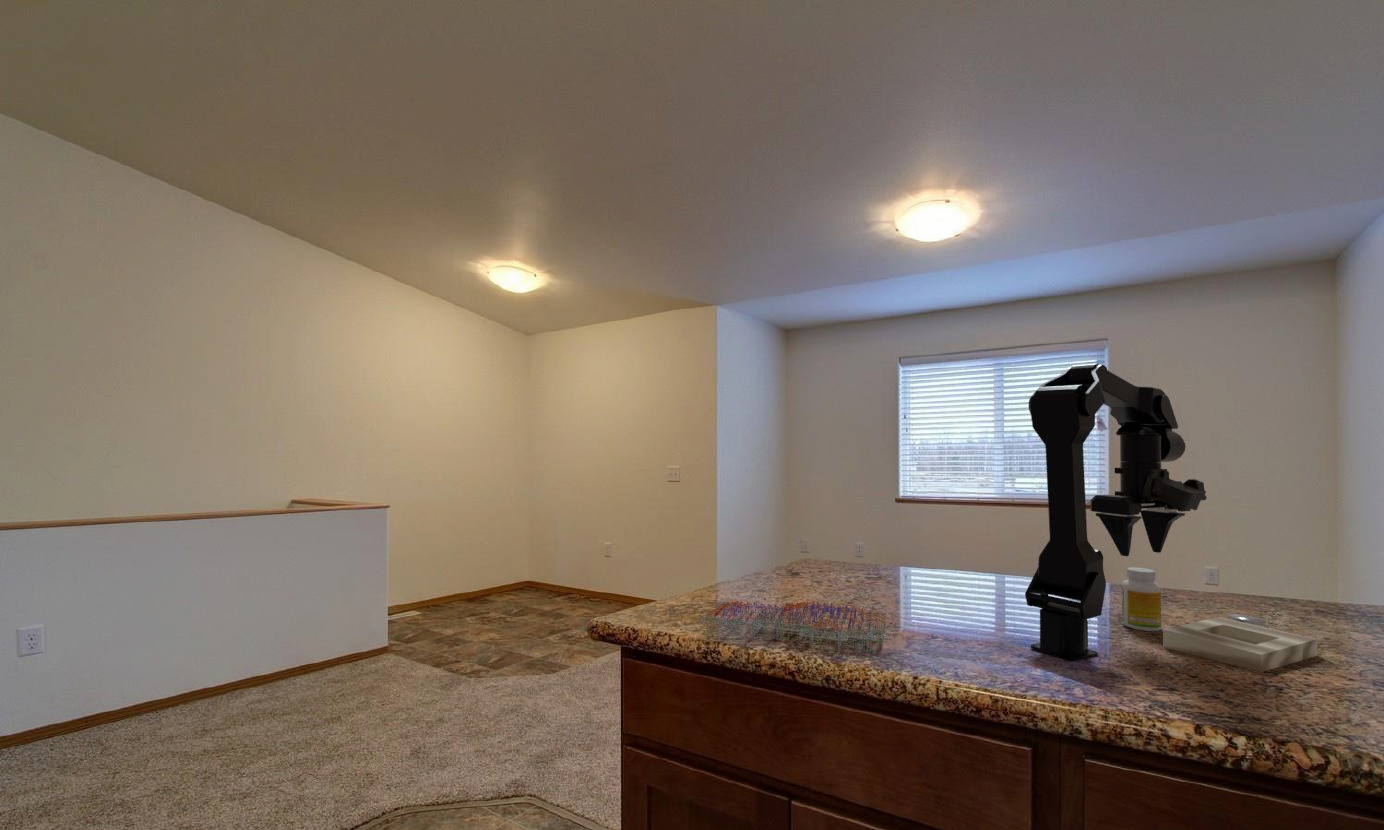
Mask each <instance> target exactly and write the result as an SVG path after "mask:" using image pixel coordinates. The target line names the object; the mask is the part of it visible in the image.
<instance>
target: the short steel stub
mask: <svg viewBox="0 0 1384 830" xmlns="http://www.w3.org/2000/svg"><path fill="white" fill-rule="evenodd" d="M1228 616H1229V617H1228V619H1231V620H1235V621H1240V622H1244V623H1248V624H1253V625H1257V626H1262V627H1266V628H1267V621H1266V619H1264V618H1261V617H1258V616H1254V615H1247V614H1238V613H1235V614H1233V613H1232V614H1229V615H1228Z"/></svg>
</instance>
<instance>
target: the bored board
mask: <svg viewBox="0 0 1384 830" xmlns="http://www.w3.org/2000/svg"><path fill="white" fill-rule="evenodd" d="M1162 647H1163V649H1169V650H1172V651H1177V652H1181V653H1185V654H1188V655H1192V656H1196V657H1200V658H1205V659H1209V660H1212V661H1215V662H1220V663H1224V664H1229V665H1232V666H1236V667H1240V668H1244V669H1249V670H1253V671H1257V672H1260V673H1263V672H1266V671H1267V672H1268V671H1271V670H1273V669H1277V668H1280V667H1284V666H1287V665H1291V664H1294V663H1298V662H1302V661H1305V660H1307V659H1312V658H1314V657H1318V638H1314V637H1310V636H1305V635H1301V634H1296V633H1292V632H1287V631H1283V630H1280V629H1279V630H1278V629H1274V628H1270V627H1267V626H1266V627H1262V626H1257V625H1253V624H1248V623H1244V622H1240V621H1235V620H1231V619H1229V618H1226V617H1221V616H1218V617H1213V618H1208V619H1204V620H1199V621H1195V622H1191V623H1190V622H1189V623H1186V624H1181V625H1177V626H1171V627H1168V628H1162ZM1311 657H1312V658H1311Z"/></svg>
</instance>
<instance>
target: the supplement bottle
mask: <svg viewBox="0 0 1384 830" xmlns="http://www.w3.org/2000/svg"><path fill="white" fill-rule="evenodd" d="M1126 577H1128V579H1125V580H1123V582H1122V583H1121V597H1122V598H1121V607H1122V608H1121V618H1122V619H1121V620H1122V624H1123V625H1124V626H1125V627H1126V628H1131V629H1134V630H1137V631H1143V632H1158V631H1159V632H1160V630H1161V629H1162V600H1161V598H1162V597H1161V596H1162V590H1161V587H1160V585H1159V584H1158V583H1156V582H1155V580H1156V571H1155V570H1153V569H1149V568H1145V567H1136V566H1134V567H1131V566H1130V567H1127V568H1126Z"/></svg>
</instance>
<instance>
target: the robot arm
mask: <svg viewBox="0 0 1384 830" xmlns="http://www.w3.org/2000/svg"><path fill="white" fill-rule="evenodd" d="M1103 405H1104V406H1107V407H1109V408H1110V411H1109V412H1110V413H1109V415H1110V416H1111V417H1113V418H1114V419H1115V420H1116V422H1117V424H1118V426H1120V427H1119V428H1118V429H1117V431H1116V432H1115V433H1116V436H1119V443H1120V444H1119V445H1120V446H1119V451H1120V453H1119V457H1120V458H1119V459H1120V462H1119V463H1120V467H1114V474H1119V475H1120V479H1119V480H1120V482H1119V483H1120V485H1119V486H1120V490H1116V491H1114V494H1096V495H1094V496H1093V497H1092V498H1091V499H1090V500H1089V501H1090V503H1089V504H1090V512H1094V513H1095V516H1096V517H1098V518H1099V520H1100V521H1101V522H1102V524H1103V526H1104V527H1105V529H1106V530H1107V532H1108V534H1109V536H1110V537H1111V540H1112V541H1113V543H1114V545H1115V547H1116V548H1117V550H1118V553H1119V555H1120V556H1122V557H1129V556H1130V552H1131V545H1132V539H1133V538H1132V537H1133V527H1134V525H1135V524H1137V523H1138V522H1139V521H1140V520H1141V519H1142V522H1143V525H1144V528H1145V531H1146V536H1147V538H1148V541H1149V544H1150V547H1151V550H1152V552H1153V553H1160V554H1161V553H1162V550H1163V547H1164V545H1165V542H1166V539H1167V537H1168V534H1169V531H1170V530H1171V527H1172V524H1173V523H1174V522H1175V521H1177V520H1178V519H1180V518H1181V517H1184V516H1186V513H1185V512H1191V510H1193V511H1197V510H1198V508H1199V505H1200V503H1201V501H1206V500H1207V499H1208V498H1207V495H1206V494H1207V491H1206V490H1205V483H1204V482H1203V481H1201V480H1198V479H1196V478H1195V479H1194V478H1191V479H1187V480H1185V482H1183V481H1180V480H1179V481H1177V480H1173V479H1172V478H1170V472H1169V470H1168V469H1167V468H1162V463H1169V462H1174V461H1177V460H1178V459H1181V457H1182V456H1183V455H1184V453H1185V451H1186V442H1185V440H1184V439H1183V437H1182V436H1181V435H1180V434H1179V433H1177V432H1175V431H1174V430H1177V429H1179V426H1178V422H1177V418H1176V415H1175V412H1174V410H1173V406H1172V403H1171V401H1170V397H1169V396H1168V395H1166V393H1165V392H1164V390H1162V389H1161V388H1157V387H1152V386H1151V387H1150V386H1137V385H1135V384H1133V383H1130V382H1129V381H1127V380H1125V379H1123V378H1122V377H1120V376H1119V375H1116V374H1115V373H1113V372H1111V371H1110V370H1108V368H1107V366H1106V365H1104V364H1101V363H1087V364H1086V363H1085V364H1074V365H1071V366H1069V367H1067V368H1066V369H1064V371H1063V373H1061V374H1059V375H1057V376H1056V377H1053V378H1051V379H1049V380H1048V381H1045V382H1043V383H1042V384H1041V385H1040V386H1039V387H1038V388H1037V389H1036V390H1035V392H1034V393H1033V394H1032V395H1031V396H1030V397H1029V400H1028V410H1029V413H1030V417H1031V424H1032V428H1033V430H1034V432H1035V433H1036V435H1037V436H1038V437H1039V438H1040V440H1041V441H1042V443H1043V444H1044V446H1045V462H1046V463H1045V464H1046V486H1047V506H1048V508H1047V509H1048V510H1047V511H1048V526H1049V527H1048V529H1049V530H1048V531H1049V540H1048V542H1047V543H1046V545H1045V546H1044V547H1043V549H1042V551H1041V552H1040V554H1039V555H1038V563H1037V565H1038V566H1037V569H1036V571H1035V572H1034V574H1033V577H1032V579H1031V580H1030V583H1029V585H1028V587H1027V589H1026V591H1025V593H1024V594H1025V595H1024V597H1025V600H1026V604H1027V606H1028V607H1035V608H1039V642H1036V643H1031V644H1030V648H1031V649H1033V650H1034V651H1035V650H1036V651H1038V652H1042V653H1043V654H1047V655H1050V656H1053V657H1055V658H1059V659H1062V660H1065V661H1068V662H1076V661H1080V660H1085V659H1090V658H1094V657H1098V655H1099V652H1098V651H1096V650H1093V649H1090V648H1088V647H1089V621H1088V620H1089V619H1093V618H1097V617H1100V616H1102V611H1103V605H1104V600H1105V595H1106V594H1105V593H1106V588H1107V582H1106V575H1105V571H1104V554H1103V553H1102V551H1101V550H1100V549H1094V547H1093V546H1092V545H1091V543H1090V542H1089V541H1088V528H1087V527H1088V526H1087V525H1088V523H1087V503H1086V484H1085V464H1084V463H1085V461H1084V457H1085V456H1084V444H1085V442H1086V440H1087V438H1089V436H1090V434H1091V432H1092V431H1093V429H1094V428H1095V425H1096V414H1097V413H1098V411H1099V410H1100V409H1101V408H1102V406H1103ZM1138 515H1141V516H1138Z"/></svg>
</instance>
